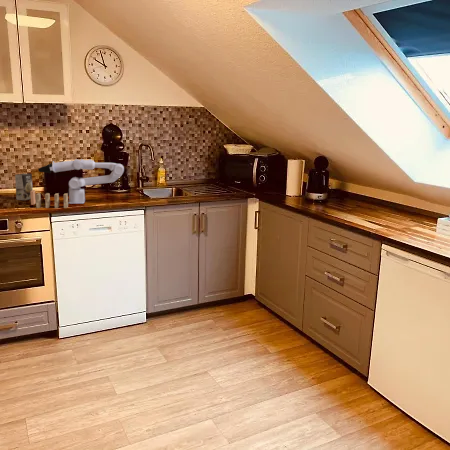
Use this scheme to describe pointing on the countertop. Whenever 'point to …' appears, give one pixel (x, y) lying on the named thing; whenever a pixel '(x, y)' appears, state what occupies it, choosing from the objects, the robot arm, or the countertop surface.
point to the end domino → (33, 197)
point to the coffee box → (23, 186)
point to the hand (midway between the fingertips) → (39, 169)
